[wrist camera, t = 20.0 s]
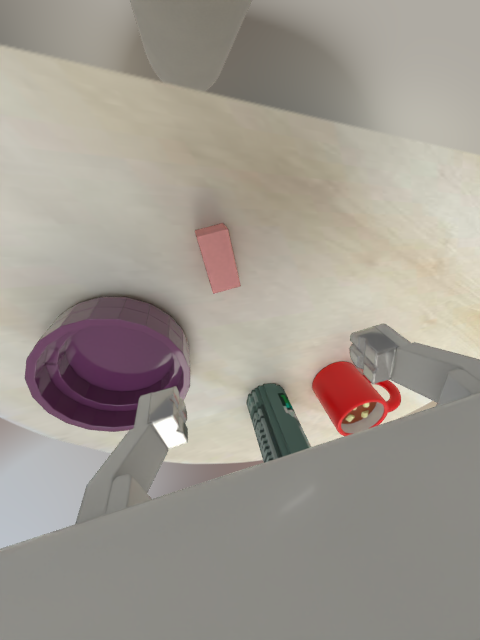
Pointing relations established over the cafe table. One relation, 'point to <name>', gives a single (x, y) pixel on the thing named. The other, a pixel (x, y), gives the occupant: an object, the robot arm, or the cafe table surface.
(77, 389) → the bowl
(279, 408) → the can
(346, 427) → the mug
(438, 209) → the cafe table surface
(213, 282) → the eraser
